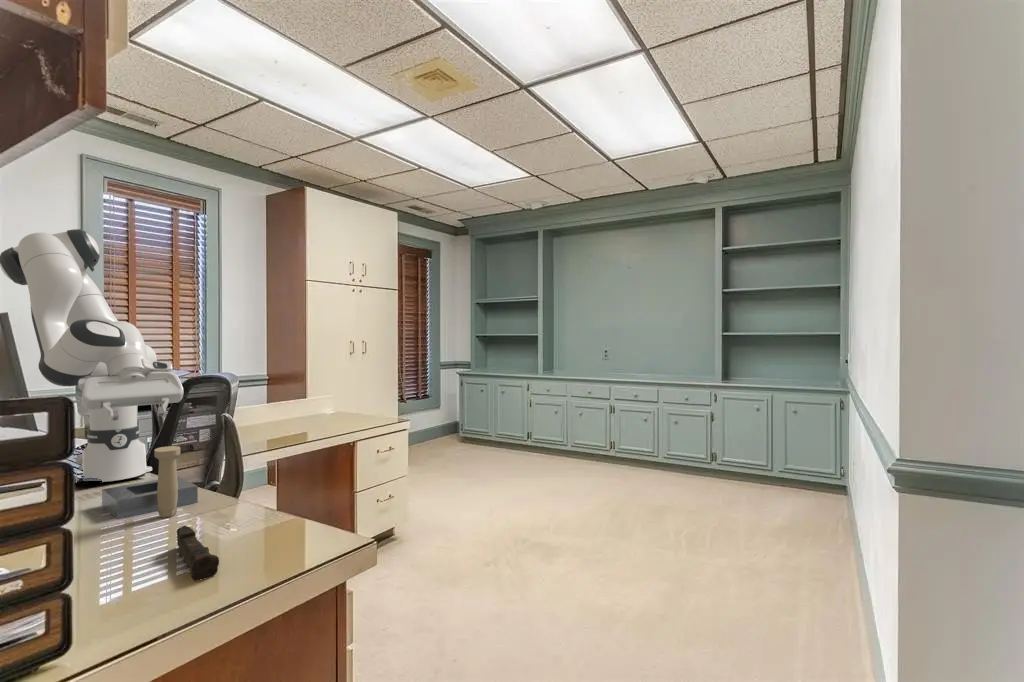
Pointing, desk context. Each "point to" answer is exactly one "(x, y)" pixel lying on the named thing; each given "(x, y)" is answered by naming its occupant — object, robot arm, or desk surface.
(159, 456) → the handle
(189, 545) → the hand tool
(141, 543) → the desk surface
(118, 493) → the jig
